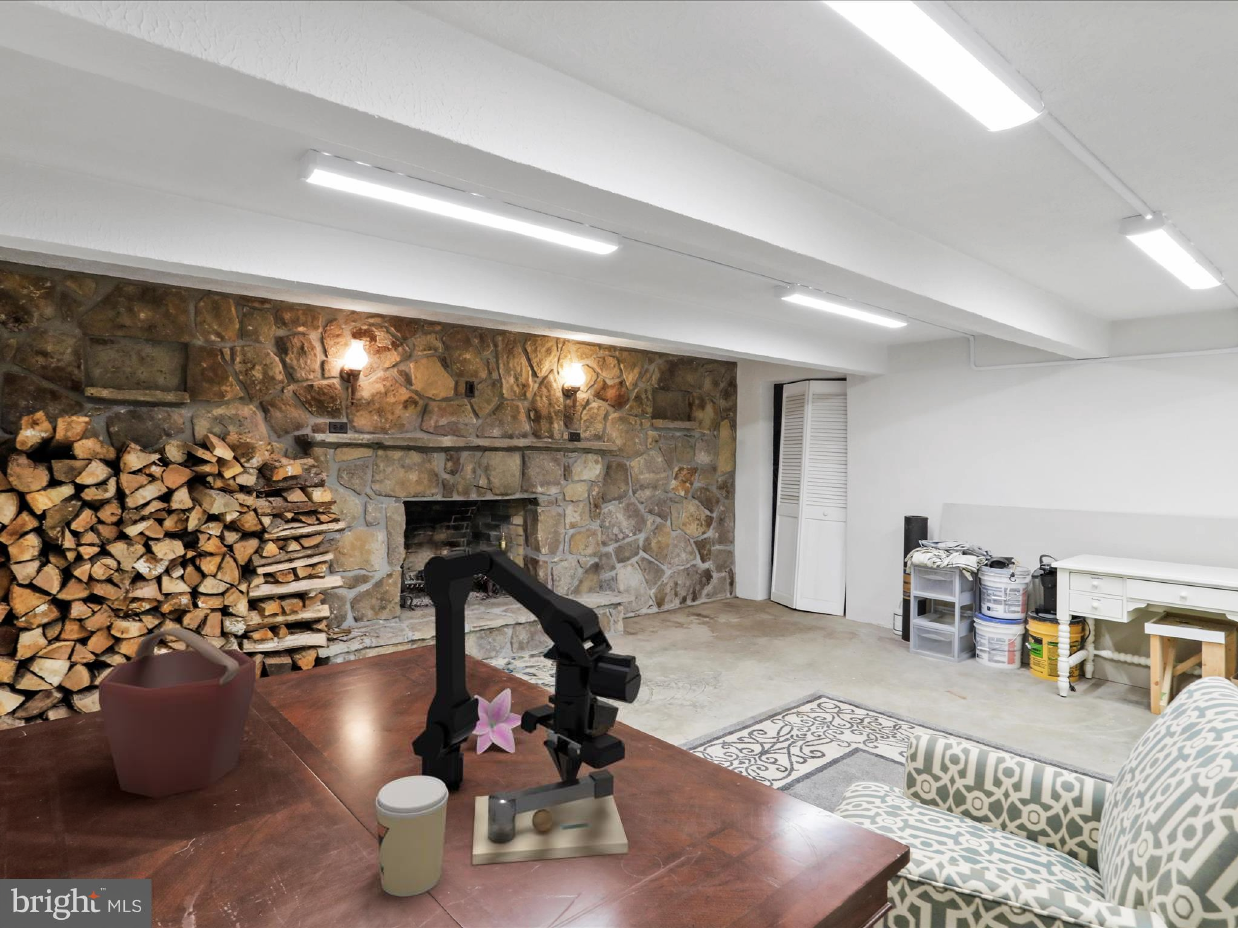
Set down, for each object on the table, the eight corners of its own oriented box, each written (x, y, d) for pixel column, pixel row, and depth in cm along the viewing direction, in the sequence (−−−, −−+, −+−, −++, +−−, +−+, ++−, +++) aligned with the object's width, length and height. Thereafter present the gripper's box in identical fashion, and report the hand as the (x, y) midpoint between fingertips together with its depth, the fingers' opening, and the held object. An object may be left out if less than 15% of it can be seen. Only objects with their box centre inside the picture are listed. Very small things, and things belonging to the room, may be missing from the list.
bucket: (271, 777, 122) (272, 633, 121) (117, 826, 106) (118, 661, 105) (222, 734, 139) (222, 608, 138) (82, 771, 123) (82, 628, 122)
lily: (447, 753, 135) (453, 720, 131) (474, 709, 146) (481, 676, 141) (504, 778, 134) (513, 744, 129) (527, 731, 144) (536, 699, 140)
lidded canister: (384, 858, 100) (385, 774, 99) (451, 856, 101) (453, 773, 100) (366, 901, 90) (367, 809, 90) (440, 899, 91) (442, 808, 91)
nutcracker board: (472, 864, 99) (473, 832, 99) (475, 805, 115) (476, 778, 114) (627, 852, 103) (628, 822, 102) (610, 797, 118) (610, 770, 118)
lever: (492, 845, 101) (493, 804, 100) (484, 830, 104) (484, 792, 104) (614, 814, 110) (615, 777, 109) (603, 802, 113) (604, 766, 113)
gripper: (652, 695, 109) (647, 794, 110) (572, 663, 122) (568, 751, 123) (599, 713, 101) (594, 819, 102) (520, 677, 115) (516, 771, 115)
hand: (568, 787), depth 111 cm, fingers closed
